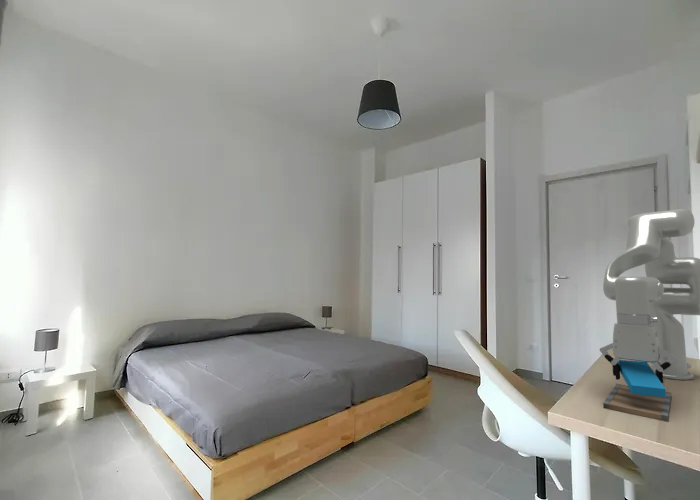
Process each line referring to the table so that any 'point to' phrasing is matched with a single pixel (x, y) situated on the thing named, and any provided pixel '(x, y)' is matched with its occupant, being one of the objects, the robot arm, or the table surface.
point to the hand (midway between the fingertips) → (637, 381)
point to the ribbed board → (638, 403)
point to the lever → (641, 378)
